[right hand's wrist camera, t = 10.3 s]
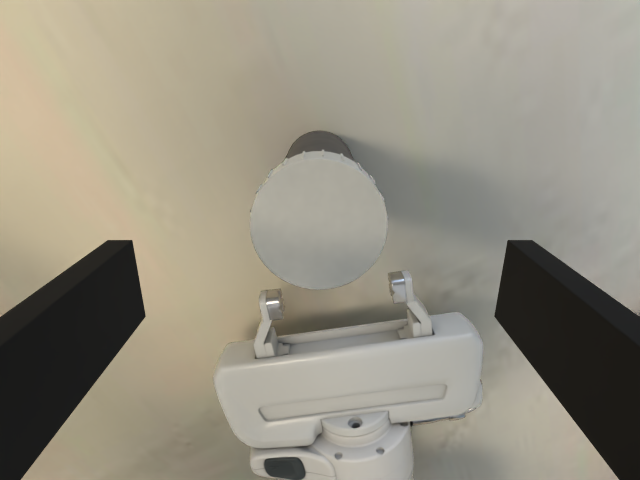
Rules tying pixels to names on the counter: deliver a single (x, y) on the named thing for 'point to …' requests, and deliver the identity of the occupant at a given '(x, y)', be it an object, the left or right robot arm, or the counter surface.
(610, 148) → the counter surface
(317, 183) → the lid
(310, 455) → the left robot arm
